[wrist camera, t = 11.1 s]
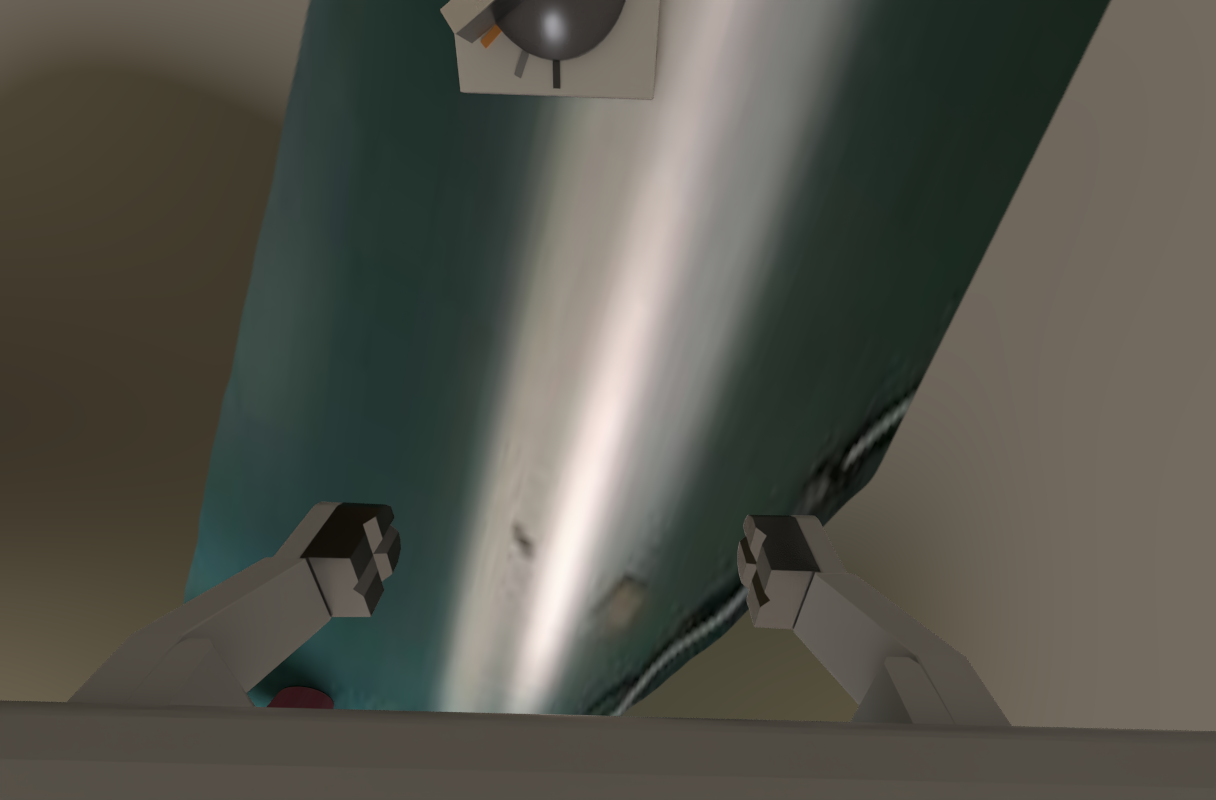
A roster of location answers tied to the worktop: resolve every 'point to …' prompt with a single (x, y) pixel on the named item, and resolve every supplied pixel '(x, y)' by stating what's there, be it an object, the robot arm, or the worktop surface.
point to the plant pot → (301, 699)
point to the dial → (538, 23)
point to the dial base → (568, 62)
